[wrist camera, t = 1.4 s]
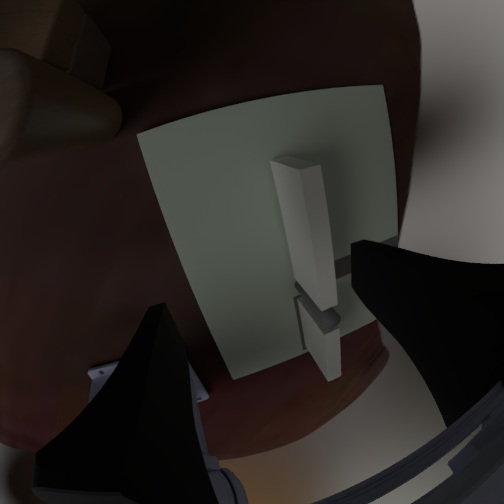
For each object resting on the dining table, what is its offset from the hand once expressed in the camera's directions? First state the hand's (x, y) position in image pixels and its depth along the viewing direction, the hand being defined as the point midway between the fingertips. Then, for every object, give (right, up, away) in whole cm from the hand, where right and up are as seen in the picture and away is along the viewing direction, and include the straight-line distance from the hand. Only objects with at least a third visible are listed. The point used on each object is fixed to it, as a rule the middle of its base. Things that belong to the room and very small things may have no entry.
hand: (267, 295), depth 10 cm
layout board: (+3, +2, +12) cm, 12 cm away
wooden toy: (-16, +12, +2) cm, 20 cm away
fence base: (+4, -4, +14) cm, 15 cm away
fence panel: (+2, +4, +9) cm, 10 cm away
